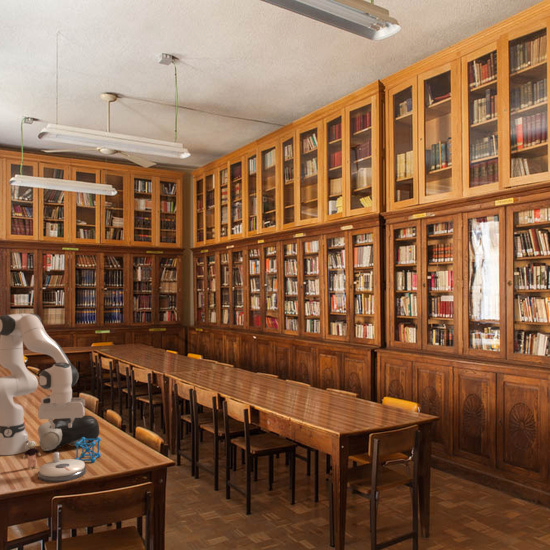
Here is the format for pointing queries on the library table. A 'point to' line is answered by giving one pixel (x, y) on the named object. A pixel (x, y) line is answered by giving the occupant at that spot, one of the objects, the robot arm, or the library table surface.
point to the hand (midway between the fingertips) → (61, 427)
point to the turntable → (61, 467)
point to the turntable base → (61, 477)
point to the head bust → (67, 432)
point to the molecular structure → (88, 449)
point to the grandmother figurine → (32, 455)
